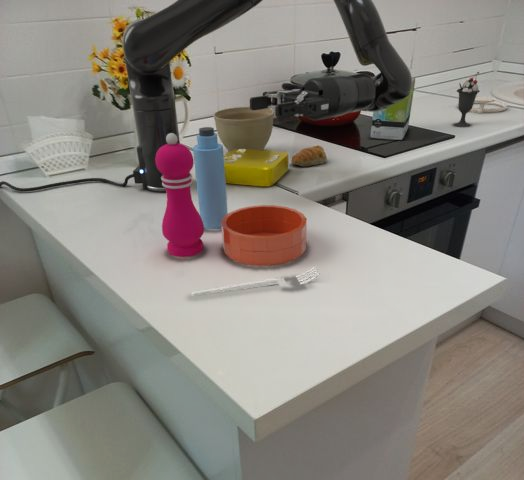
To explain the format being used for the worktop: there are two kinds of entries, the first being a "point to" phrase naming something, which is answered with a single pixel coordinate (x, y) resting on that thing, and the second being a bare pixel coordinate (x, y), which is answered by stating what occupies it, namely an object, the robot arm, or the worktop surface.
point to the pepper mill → (179, 200)
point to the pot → (264, 235)
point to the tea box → (393, 119)
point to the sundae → (466, 99)
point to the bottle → (210, 178)
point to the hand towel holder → (487, 101)
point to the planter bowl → (244, 127)
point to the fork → (260, 283)
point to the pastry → (310, 156)
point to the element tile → (255, 167)
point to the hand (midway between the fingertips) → (263, 107)
